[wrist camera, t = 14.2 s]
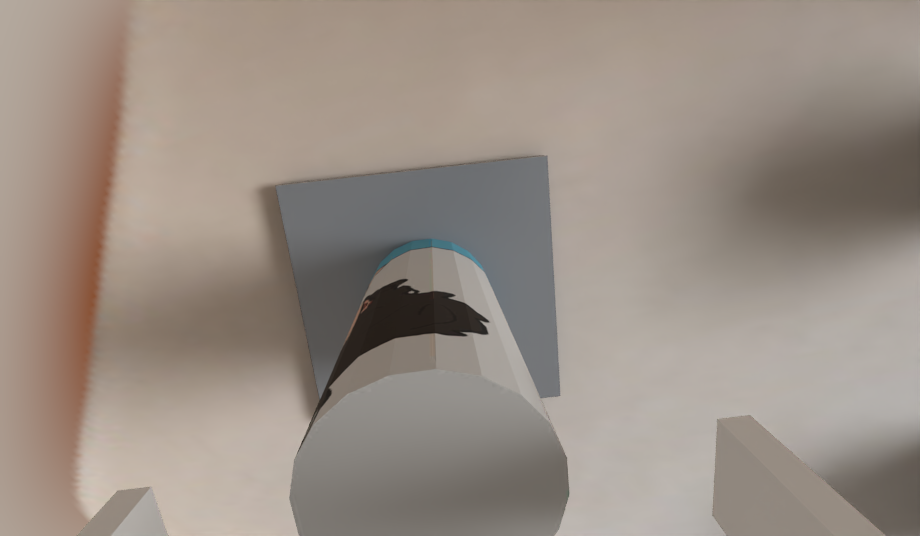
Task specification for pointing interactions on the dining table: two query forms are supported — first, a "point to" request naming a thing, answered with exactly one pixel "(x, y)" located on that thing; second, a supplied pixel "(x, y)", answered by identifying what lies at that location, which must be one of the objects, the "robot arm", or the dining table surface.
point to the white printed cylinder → (429, 415)
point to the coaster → (417, 218)
